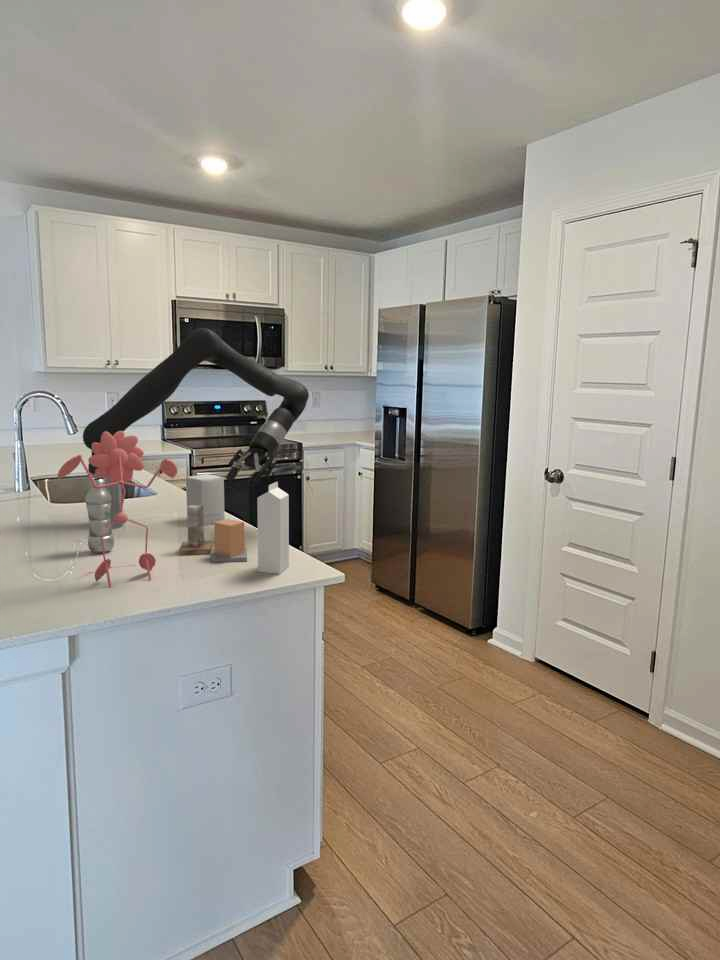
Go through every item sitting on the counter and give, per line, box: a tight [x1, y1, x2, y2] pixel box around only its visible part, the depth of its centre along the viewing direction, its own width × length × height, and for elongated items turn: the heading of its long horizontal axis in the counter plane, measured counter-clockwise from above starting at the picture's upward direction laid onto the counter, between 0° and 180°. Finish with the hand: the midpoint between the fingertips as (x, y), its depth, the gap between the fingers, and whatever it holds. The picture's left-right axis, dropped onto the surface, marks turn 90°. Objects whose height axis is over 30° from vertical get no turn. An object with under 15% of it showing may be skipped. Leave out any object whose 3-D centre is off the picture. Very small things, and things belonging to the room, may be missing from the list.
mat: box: [211, 547, 248, 564], centre depth 165 cm, size 9×9×1 cm
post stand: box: [179, 505, 213, 556], centre depth 169 cm, size 11×11×12 cm
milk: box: [256, 481, 290, 575], centre depth 154 cm, size 6×6×22 cm
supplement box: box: [185, 473, 226, 526], centre depth 201 cm, size 9×9×15 cm
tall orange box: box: [213, 518, 246, 557], centre depth 165 cm, size 5×6×8 cm
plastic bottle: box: [84, 478, 115, 554], centre depth 166 cm, size 6×7×20 cm
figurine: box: [57, 431, 178, 588], centre depth 146 cm, size 15×26×35 cm, turn 126°
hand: (239, 482), depth 173 cm, fingers open, 8 cm apart
